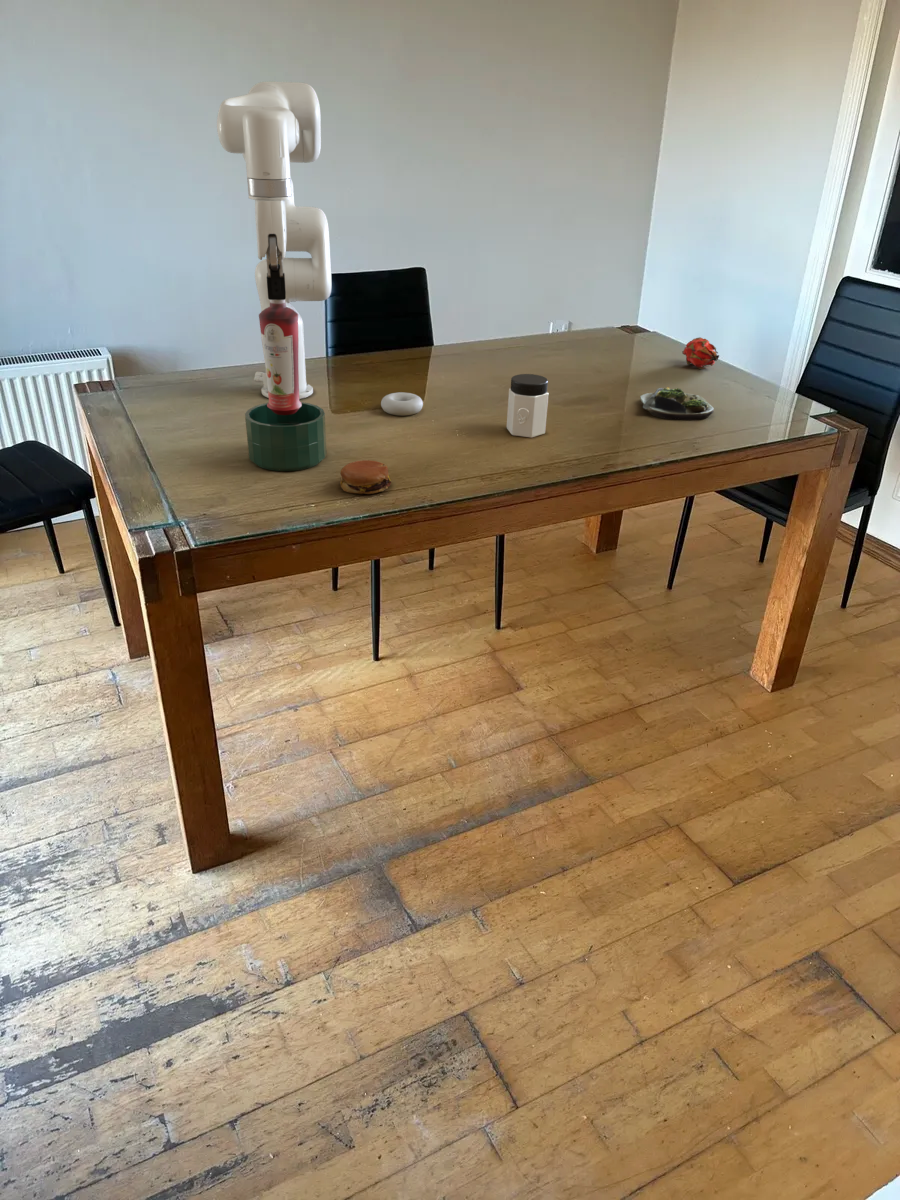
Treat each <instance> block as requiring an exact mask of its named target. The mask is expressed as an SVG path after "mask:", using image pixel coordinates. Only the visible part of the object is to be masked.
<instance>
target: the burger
mask: <svg viewBox="0 0 900 1200" xmlns="http://www.w3.org/2000/svg"><path fill="white" fill-rule="evenodd" d="M339 482H340V483H339V484H340V487H341V490H343V492H346V493H349V494H358V495H364V494H365V495H373V494H378V493H380V492H381V493H382V492H385V491H386V490H387V489H388V488H389V487H390V486H391V484H392V480H391V477H390V475H389V468H388V466H387V464H386V463H384V462H379V461H377V460H369V459H368V460H366V459H365V460H356V461H352V462H349V463H347V464H346V465H344V466H343V467H342V468H341V470H340V481H339Z"/></svg>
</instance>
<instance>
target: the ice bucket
mask: <svg viewBox="0 0 900 1200" xmlns="http://www.w3.org/2000/svg"><path fill="white" fill-rule="evenodd" d="M300 402H301V404H302V406H301V407H300V408H299V409H298V411H297V412H296V413H294V414H291V415H279V414H276V413H274V412H273V411H272V410H271V409H269V408H268V407H267V404H268V402H265V403H261V404H257V405H255V406H252V407H251V408H249V409H247V410H246V411H245V413H244V418H245V419H244V420H245V429H246V430H245V431H246V440H247V441H246V442H247V451H248V459H249V460H250V462H252V463H254V464H255V465H256V466H258V467H260V468H262V469H266V470H269V471H275V472H294V471H301V470H307V469H309V468H310V469H311V468H312V467H315V466H317V465H318V464H320V463H321V462H322V461H323V460H324V459H325V458H326V457H327V431H326V413H325V411H324V409H323V408H322V407H320V406H318V405H317V404H314V403H309V402H303V401H300Z"/></svg>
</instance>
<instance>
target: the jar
mask: <svg viewBox="0 0 900 1200" xmlns="http://www.w3.org/2000/svg"><path fill="white" fill-rule="evenodd" d="M548 385H549V379H548V378H547V377H545V376H542V375H538V374H534V373H533V374H531V373H521V374H515V375H513V376H512V377H511V378H510V387H509V389H508V401H507V414H506V429H507V431H508V432H509V433H510V434H511V435H512V436H515V437H522V438H530V439H532V438H536V437H538V436H542V435H545V433H546V428H547V427H546V426H547V415H548V405H549V392H548Z"/></svg>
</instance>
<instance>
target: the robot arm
mask: <svg viewBox="0 0 900 1200" xmlns="http://www.w3.org/2000/svg"><path fill="white" fill-rule="evenodd" d="M321 119H322V115H321V106H320V101H319V96H318V94H317V92H316V90H315V89H314V88H313V86H311V84H309V83H306V82H300V81H299V82H298V81H297V82H296V81H295V82H294V81H273V80H272V81H271V80H269V81H260V82H258V83H255V84H254V85H253V86H252V87H250V88H249V90H248V93H245V94H242V95H237V96H233V97H228V98H226V99H224V100H222V102H221V103H220V105H219V108H218V112H217V117H216V132H217V137H218V140H219V143H220V145H221V147H222V148H223V149H224V150H225V151H226V152H227V153H230V154H240V155H241V154H242V157H243V159H244V162H245V169H246V179H247V193H248V199H250V200H254V216H255V217H254V218H255V232H256V246H257V258H258V260H260V261H259V262H258V263H257V264H256V266H255V270H254V278H255V280H254V281H255V285H256V289H257V294H258V298H259V304H260V313H261V312H262V311H263V310H264V309H266V308H268V307H270V300H285V303H286V307H288V308H291V309H293V310H294V311H295V312H296V313H297V314H298V371H299V400H302V399H305V398H308V397H310V396H312V395H313V393H314V387H313V386H312V385H311V384H310V383H307V370H306V369H307V368H306V351H305V334H304V333H305V332H304V321H303V318H302V315H301V314H300V313H299V311H298V310H297V309H296V308H295V306H294V305H292V303H295V302H323V301H324V302H325V301H326V300H328V299H329V298H330V296H331V293H332V285H333V284H332V265H331V264H332V263H331V262H332V260H331V244H330V243H331V242H330V241H331V240H330V229H329V222H328V218H327V215H326V213H325V212H324V211H323V210H322V208H319V207H316V206H299V205H298V206H297V205H296V204H295V194H294V192H295V191H294V182H293V180H292V177H291V163H301V164H303V163H304V164H308V163H310V164H311V163H314V162H316V161H317V160H318V159H319V157H320V155H321V150H322V128H321V127H322V123H321V122H322V121H321ZM286 252H303V253H304V252H306V253H308V254H309V255H310V256H311V257H286V255H287V253H286ZM265 257H266V258H265ZM263 258H265V259H263ZM282 265H283V269H282ZM279 270H280V271H279ZM253 381H254V382H257V383H262V384H263V386H262V387H261V388H260V389H261V394H262V396H264V397H265V398H266V399H267V398H268V399H269V396H268V386H267V377H266V372H262V371H256V372H255V373H254V378H253Z"/></svg>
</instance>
